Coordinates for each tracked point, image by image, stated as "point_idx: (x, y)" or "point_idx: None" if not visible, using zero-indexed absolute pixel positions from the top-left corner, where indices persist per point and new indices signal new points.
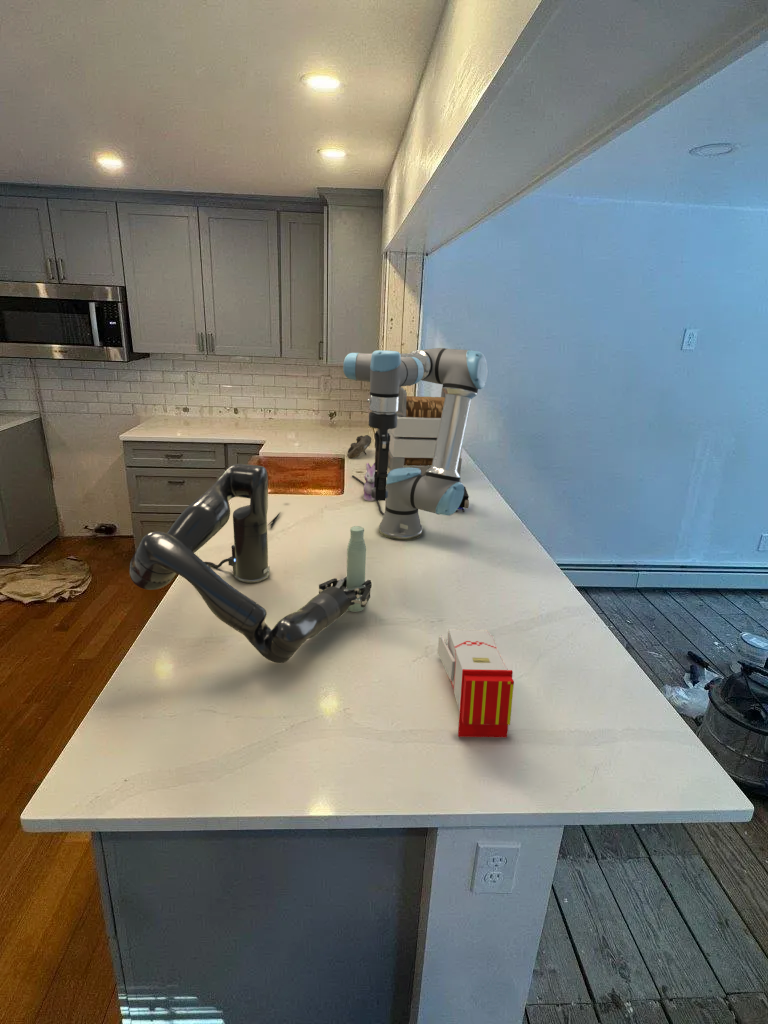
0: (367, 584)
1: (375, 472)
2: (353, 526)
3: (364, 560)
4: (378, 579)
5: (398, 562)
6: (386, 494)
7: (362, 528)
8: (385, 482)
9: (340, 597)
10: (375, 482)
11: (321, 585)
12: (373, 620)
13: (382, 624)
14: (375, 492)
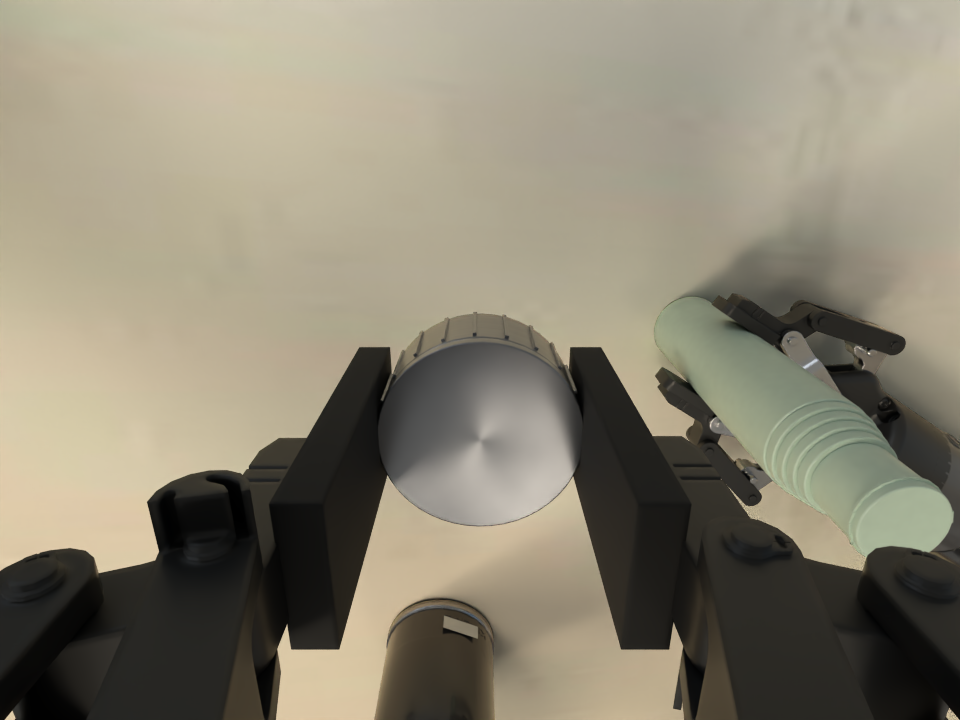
0: (759, 319)
1: (340, 635)
2: (860, 547)
3: (822, 381)
4: (456, 222)
5: (265, 105)
6: (547, 350)
7: (916, 495)
8: (660, 463)
9: (928, 443)
10: (370, 518)
11: (756, 497)
12: (791, 266)
13: (826, 235)
14: (558, 483)
